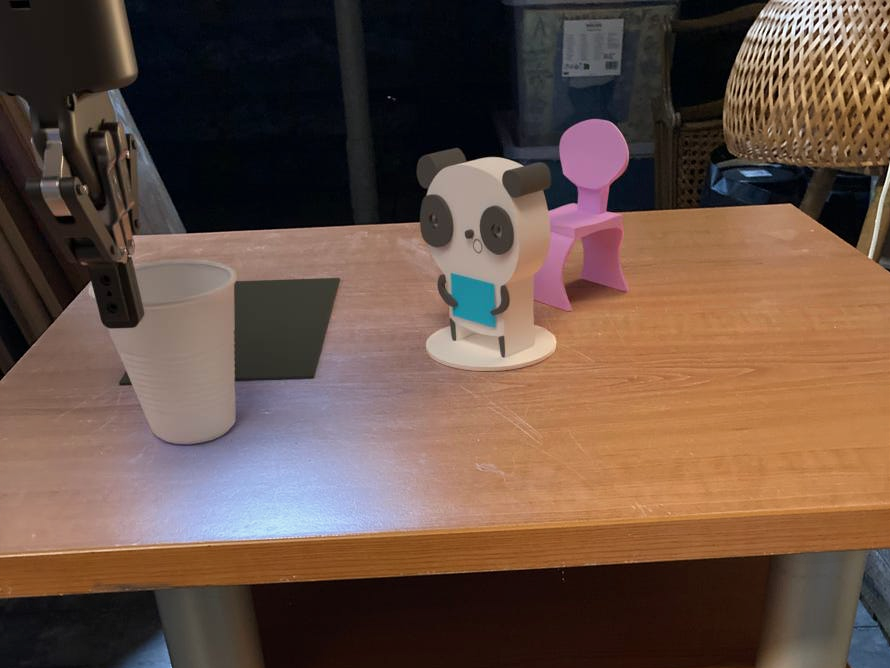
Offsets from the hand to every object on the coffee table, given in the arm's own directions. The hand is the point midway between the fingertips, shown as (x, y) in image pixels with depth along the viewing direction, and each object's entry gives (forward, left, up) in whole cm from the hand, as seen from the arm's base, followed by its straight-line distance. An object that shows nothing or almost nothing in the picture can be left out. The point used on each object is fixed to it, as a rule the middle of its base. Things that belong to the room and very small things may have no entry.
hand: (124, 323), depth 60 cm
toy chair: (+48, +9, -12) cm, 51 cm away
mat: (+20, +25, -12) cm, 34 cm away
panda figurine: (+33, +5, -12) cm, 36 cm away
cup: (+6, +8, -12) cm, 15 cm away
